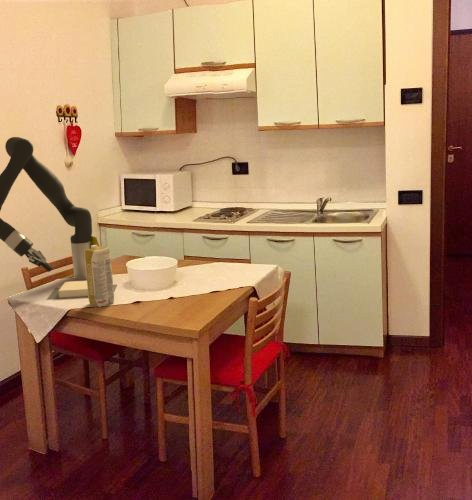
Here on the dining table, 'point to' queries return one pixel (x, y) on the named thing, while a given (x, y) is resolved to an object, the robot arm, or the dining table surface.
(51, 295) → the mat
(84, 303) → the dining table surface
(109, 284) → the juice carton
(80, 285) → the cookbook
